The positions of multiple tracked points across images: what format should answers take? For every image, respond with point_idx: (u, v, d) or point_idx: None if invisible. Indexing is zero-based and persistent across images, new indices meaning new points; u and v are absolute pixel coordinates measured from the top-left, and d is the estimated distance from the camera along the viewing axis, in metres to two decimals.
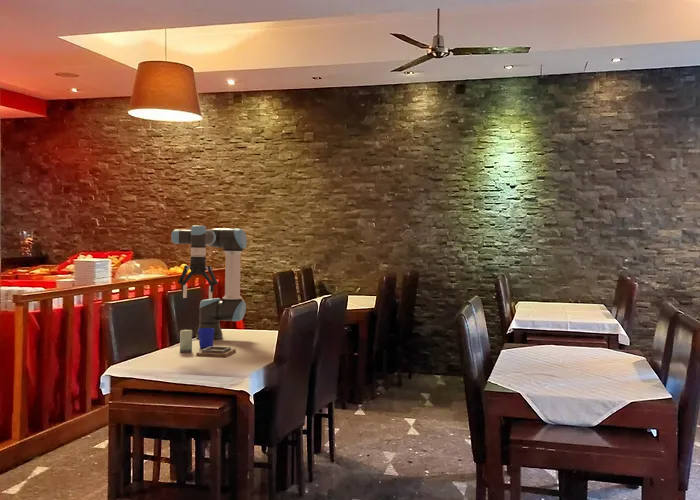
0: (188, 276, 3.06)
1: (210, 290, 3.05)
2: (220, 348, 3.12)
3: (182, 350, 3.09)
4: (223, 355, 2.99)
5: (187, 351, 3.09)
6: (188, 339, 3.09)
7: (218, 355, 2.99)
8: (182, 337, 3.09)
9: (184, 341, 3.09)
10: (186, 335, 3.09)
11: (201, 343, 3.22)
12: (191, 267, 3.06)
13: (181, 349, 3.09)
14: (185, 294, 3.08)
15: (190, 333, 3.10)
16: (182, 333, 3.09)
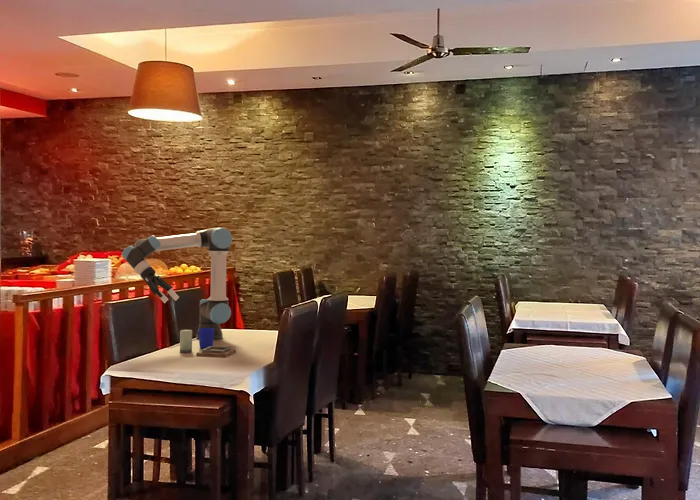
0: (160, 286, 3.24)
1: (159, 296, 3.12)
2: (220, 348, 3.12)
3: (182, 350, 3.09)
4: (223, 355, 2.99)
5: (187, 351, 3.09)
6: (188, 339, 3.09)
7: (218, 355, 2.99)
8: (182, 337, 3.09)
9: (184, 341, 3.09)
10: (186, 335, 3.09)
11: (201, 343, 3.22)
12: None
13: (181, 349, 3.09)
14: (174, 297, 3.25)
15: (190, 333, 3.10)
16: (182, 333, 3.09)
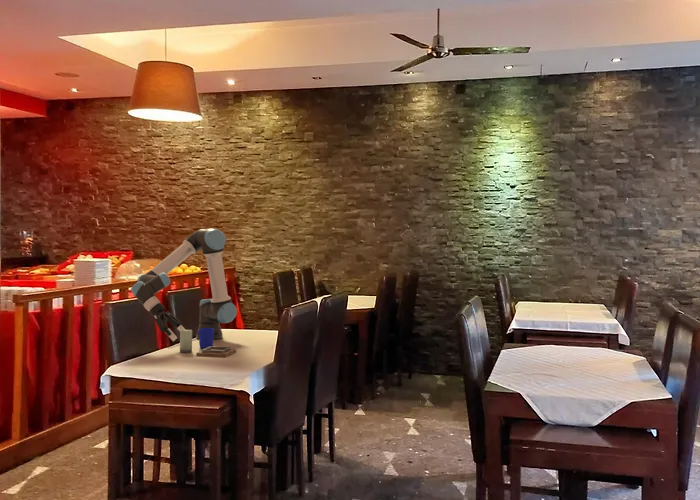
0: None
1: (168, 334, 3.05)
2: (220, 348, 3.12)
3: (182, 350, 3.09)
4: (223, 355, 2.99)
5: (187, 351, 3.09)
6: (188, 339, 3.09)
7: (218, 355, 2.99)
8: (182, 337, 3.09)
9: (184, 341, 3.09)
10: (186, 335, 3.09)
11: (201, 343, 3.22)
12: None
13: (181, 349, 3.09)
14: None
15: (190, 333, 3.10)
16: (182, 333, 3.09)
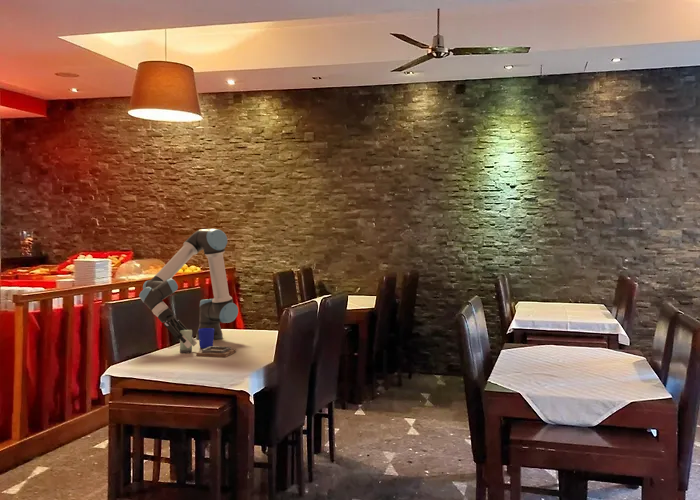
0: (178, 329, 3.15)
1: None
2: (220, 348, 3.12)
3: (182, 350, 3.09)
4: (223, 355, 2.99)
5: (187, 351, 3.09)
6: (188, 339, 3.09)
7: (218, 355, 2.99)
8: None
9: None
10: (186, 335, 3.09)
11: (201, 343, 3.22)
12: None
13: (181, 349, 3.09)
14: (192, 342, 3.14)
15: (190, 333, 3.10)
16: (182, 333, 3.09)
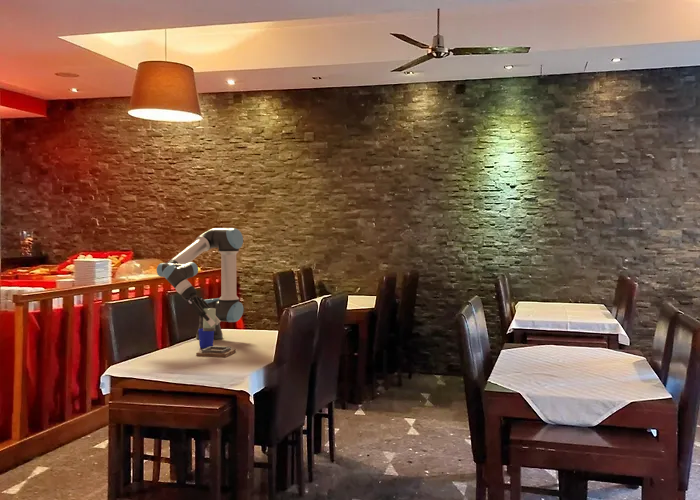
0: (201, 307, 3.11)
1: (206, 320, 3.04)
2: (220, 348, 3.12)
3: (205, 328, 3.04)
4: (223, 355, 2.99)
5: (210, 329, 3.05)
6: None
7: (218, 355, 2.99)
8: None
9: None
10: (210, 313, 3.04)
11: (201, 343, 3.22)
12: None
13: (204, 327, 3.05)
14: (216, 321, 3.10)
15: (213, 311, 3.06)
16: (205, 311, 3.04)
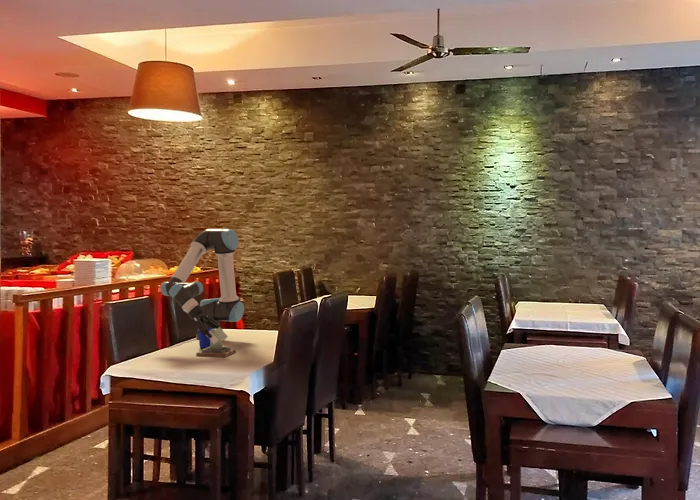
0: (208, 324, 3.13)
1: None
2: None
3: (213, 349, 3.05)
4: (223, 355, 2.99)
5: None
6: (219, 338, 3.05)
7: (218, 355, 2.99)
8: None
9: None
10: (217, 334, 3.05)
11: (201, 343, 3.22)
12: None
13: (212, 348, 3.05)
14: (223, 336, 3.13)
15: (221, 332, 3.06)
16: (213, 332, 3.05)
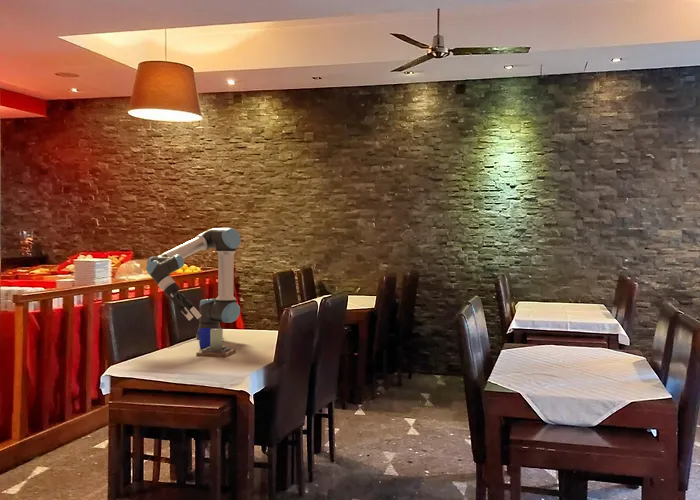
0: (183, 303, 3.16)
1: (184, 313, 3.03)
2: None
3: (213, 349, 3.05)
4: (223, 355, 2.99)
5: None
6: (219, 338, 3.05)
7: (218, 355, 2.99)
8: (213, 336, 3.05)
9: (214, 339, 3.04)
10: (217, 334, 3.05)
11: (201, 343, 3.22)
12: None
13: (212, 348, 3.05)
14: (197, 315, 3.17)
15: (221, 332, 3.06)
16: (213, 332, 3.05)
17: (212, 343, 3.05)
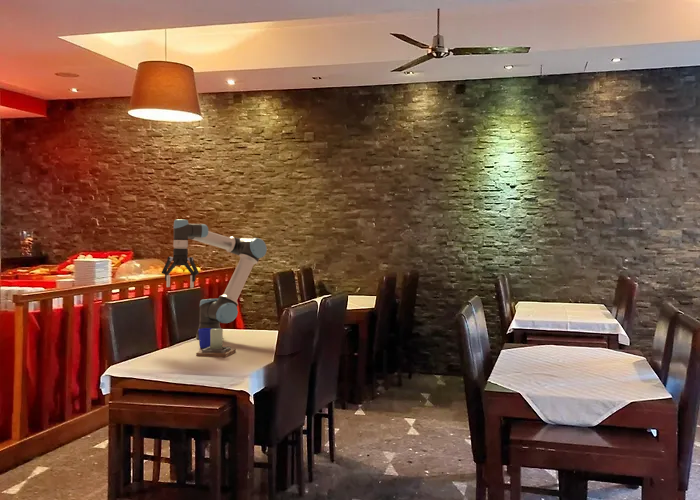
0: (171, 267, 3.28)
1: (191, 280, 3.27)
2: None
3: (213, 349, 3.05)
4: (223, 355, 2.99)
5: None
6: (219, 338, 3.05)
7: (218, 355, 2.99)
8: (213, 336, 3.05)
9: (214, 339, 3.04)
10: (217, 334, 3.05)
11: (201, 343, 3.22)
12: (174, 258, 3.28)
13: (212, 348, 3.05)
14: (168, 283, 3.30)
15: (221, 332, 3.06)
16: (213, 332, 3.05)
17: (212, 343, 3.05)
